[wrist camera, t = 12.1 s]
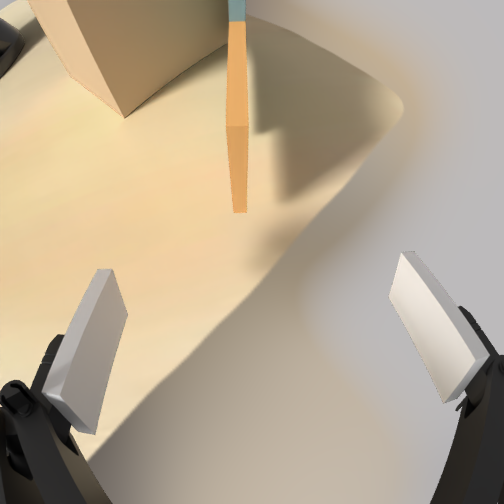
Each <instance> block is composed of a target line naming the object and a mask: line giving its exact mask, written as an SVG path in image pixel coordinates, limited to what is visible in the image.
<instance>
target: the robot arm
mask: <svg viewBox="0 0 504 504" xmlns="http://www.w3.org/2000/svg"><path fill="white" fill-rule="evenodd" d="M23 45H24V38H23V36H22V34H21V33H20V31H19V30H18V29H17V28H15V27H14V26H12V25H10V24H9V23H7V22H6V21H4V20H3V19H1V18H0V77H1V76H2V75H3V74H4V73H5V71H6V70H7V69H8V68H9V67H10V66H11V64H12V63H13V62H14V60H15V59H16V58H17V56H18V55H19V53H20V51H21V49H22V47H23ZM389 299H390V301H391V303H392V304H393V306H394V308H395V310H396V312H397V313H398V315H399V317H400V319H401V321H402V322H403V324H404V326H405V328H406V330H407V332H408V333H409V335H410V337H411V339H412V341H413V343H414V345H415V347H416V348H417V350H418V352H419V354H420V356H421V358H422V360H423V362H424V364H425V366H426V368H427V370H428V372H429V374H430V376H431V378H432V380H433V382H434V384H435V386H436V389H437V391H438V392H439V395H440V397H441V399H442V402H443V403H447V402H449V401H452V400H455V399H457V398H458V397H459V396H460V394H461V393H462V392H463V391H464V390H465V392H466V394H467V396H466V397H465V398H464V399H463V401H462V402H461V403H460V404H459V405H458V406H457V408H456V411H458V410H459V409H460V408H461V407H462V410H461V414H460V418H459V422H458V426H457V430H456V433H455V436H454V440H453V443H452V446H451V449H450V452H449V456H448V459H447V462H446V464H445V467H444V470H443V473H442V475H441V478H440V481H439V483H438V486H437V488H436V491H435V493H434V495H433V498H432V500H431V502H430V504H497V502H498V504H504V355H499V354H498V353H497V352H496V350H495V348H494V347H493V345H492V344H491V342H490V341H489V340H488V338H487V336H486V335H485V334H484V332H483V331H482V330H481V328H480V326H479V325H478V323H476V320H475V319H474V318H473V316H472V315H471V313H470V312H468V311H467V310H466V309H465V308H463V307H462V306H459V307H457V306H456V304H455V303H454V301H453V300H452V299H451V297H450V296H449V295H448V293H447V292H446V291H445V289H444V288H443V287H442V285H440V283H439V282H438V280H437V279H436V278H435V276H434V275H433V274H432V273H431V271H430V270H429V269H428V268H427V266H426V265H425V264H424V263H423V261H422V260H421V259H420V258H419V257H418V255H417V254H416V253H415V252H414V251H411V252H401V254H400V258H399V262H398V266H397V269H396V273H395V277H394V280H393V284H392V287H391V290H390V294H389ZM127 316H128V313H127V310H126V307H125V304H124V302H123V299H122V296H121V293H120V290H119V287H118V284H117V281H116V278H115V275H114V272H113V269H98V270H97V272H96V273H95V275H94V277H93V279H92V281H91V283H90V285H89V287H88V289H87V290H86V292H85V294H84V296H83V298H82V300H81V302H80V304H79V306H78V308H77V310H76V312H75V314H74V317H73V319H72V321H71V323H70V325H69V327H68V329H67V331H66V334H65V335H60V334H58V335H57V336H56V337H55V338H54V339H53V340H52V341H51V342H50V344H49V346H48V348H47V350H46V352H45V356H44V357H43V359H42V364H40V366H39V369H38V371H37V373H36V376H35V378H34V381H33V383H32V386H31V388H30V390H29V388H28V387H27V386H26V385H25V384H24V383H23V382H22V381H20V380H13V381H10V382H8V383H7V384H5V385H4V386H3V388H2V389H1V391H0V404H1V406H2V407H0V504H112V502H111V501H110V499H109V498H108V496H107V495H106V493H105V492H104V490H103V489H102V487H101V486H100V484H99V482H98V481H97V479H96V478H95V476H94V474H93V472H92V471H91V469H90V467H89V466H88V464H87V462H86V460H85V458H84V457H83V455H82V453H81V451H80V449H79V447H78V445H77V443H76V441H75V440H74V438H73V436H72V434H71V433H70V428H71V425H72V426H73V427H74V428H75V429H76V430H77V431H78V432H82V433H88V434H94V435H95V434H96V429H97V425H98V420H99V416H100V412H101V407H102V403H103V399H104V395H105V391H106V387H107V384H108V380H109V376H110V373H111V369H112V365H113V362H114V358H115V355H116V352H117V348H118V345H119V341H120V338H121V335H122V332H123V329H124V325H125V322H126V319H127Z"/></svg>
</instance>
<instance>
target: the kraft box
mask: <svg viewBox="0 0 504 504" xmlns="http://www.w3.org/2000/svg"><path fill="white" fill-rule="evenodd" d="M27 1H28V3H29V5H30V7H31V9H32V11H33V12H34V14H35V16H36V18H37V20H38V22H39V23H40V25H41V27H42V29H43V31H44V32H45V34H46V36H47V38H48V39H49V41H50V43H51V45H52V46H53V48H54V50H55V52H56V53H57V55H58V57H59V58H60V60H61V62H62V63H63V65H64V67H65V68H66V70H67V72H68V73H69V75H70V76H71V77H72V78H73V79H74V80H76V81H77V82H78V83H80V84H81V85H82V86H84V87H85V88H86V89H87V90H89V91H90V92H91V93H93V94H94V95H95V96H97V97H98V98H99V99H100V100H102V101H103V102H104V103H106V104H107V105H108V106H109V107H111V108H112V109H113V110H114V111H116V112H117V113H118V114H120V115H121V116H122V117H123V118H125V117H127V116H128V115H129V114H130V113H131V112H132V111H134V110H135V109H136V108H137V107H138V106H140V105H141V104H142V103H143V102H144V101H146V100H147V99H148V98H149V97H151V96H152V95H153V94H154V93H156V92H157V91H158V90H160V89H161V88H162V87H163V86H165V85H166V84H167V83H169V82H170V81H171V80H173V79H174V78H176V77H177V76H178V75H180V74H181V73H182V72H184V71H185V70H187V69H188V68H190V67H191V66H192V65H194V64H195V63H197V62H198V61H200V60H201V59H203V58H204V57H206V56H207V55H209V54H211V53H212V52H214V51H215V50H217V49H218V48H220V47H222V46H223V45H225V44H227V43H228V36H229V4H228V0H27Z"/></svg>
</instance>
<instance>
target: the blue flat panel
mask: <svg viewBox="0 0 504 504" xmlns="http://www.w3.org/2000/svg"><path fill="white" fill-rule="evenodd" d="M228 4H229V36H228V64H227V99H226V133H227V145H228V156H229V168H230V179H231V190H232V201H233V211H234V213H247V171H248V128H249V124H248V90H247V57H246V23H245V18H246V0H228Z"/></svg>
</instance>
